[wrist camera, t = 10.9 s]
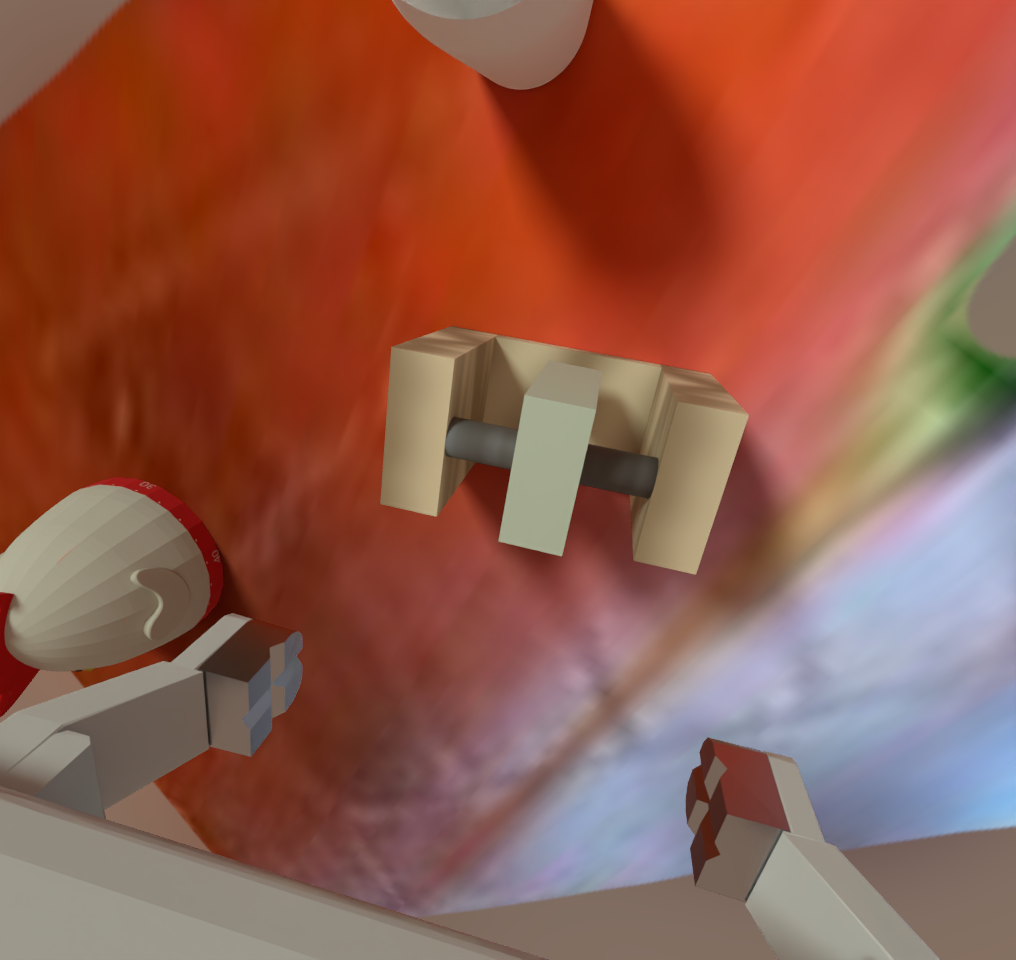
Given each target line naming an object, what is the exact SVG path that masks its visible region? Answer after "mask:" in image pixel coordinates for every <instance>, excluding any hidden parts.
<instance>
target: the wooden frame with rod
mask: <svg viewBox="0 0 1016 960" xmlns="http://www.w3.org/2000/svg"><path fill="white" fill-rule="evenodd" d="M549 360H550V361H555V362H560V363H565V364H570V365H575V366H580V367H585V368H590V369H595V370H600V371H601V378H600V386H599V393H598V400H597V408H596V413H595V417H594V421H593V426H592V430H591V434H590V439H589V443H588V447H587V451H586V456H585V460H584V464H583V469H582V473H581V477H580V481H579V484H580V485H585V486H590V487H594V488H599V489H604V490H608V491H613V492H618V493H623V494H627V495H629V497H630V512H631V528H632V544H633V560H634V561H637V562H641V563H646V564H650V565H655V566H659V567H664V568H668V569H672V570H677V571H681V572H686V573H690V574H695V575H696V573H697V570H698V567H699V564H700V561H701V558H702V555H703V552H704V549H705V546H706V543H707V540H708V537H709V534H710V531H711V528H712V525H713V522H714V519H715V516H716V513H717V510H718V507H719V504H720V501H721V498H722V495H723V492H724V489H725V486H726V483H727V480H728V477H729V474H730V471H731V468H732V465H733V462H734V459H735V456H736V453H737V450H738V447H739V444H740V441H741V438H742V435H743V432H744V429H745V426H746V423H747V420H748V417H749V415H748V414H747V412H746V411H745V410H744V409H743V408H742V407H741V406H740V405H739V404H738V403H737V402H736V401H735V399H734V398H733V397H732V396H731V395H730V394H729V393H728V392H727V391H726V390H725V389H724V387H723V386H722V385H721V384H720V383H719V382H718V381H717V380H716V379H715V378H714V377H713V376H712V374H708V373H703V372H697V371H692V370H687V369H681V368H676V367H670V366H665V365H659V364H654V363H648V362H643V361H638V360H632V359H627V358H621V357H616V356H610V355H605V354H599V353H594V352H589V351H583V350H578V349H572V348H567V347H561V346H556V345H551V344H545V343H540V342H534V341H529V340H523V339H518V338H512V337H507V336H502V335H496V334H491V333H485V332H480V331H474V330H469V329H464V328H458V327H453V326H451V327H448V328H445V329H442V330H439V331H437V332H434V333H431V334H428V335H425V336H422V337H419V338H416V339H413V340H411V341H408V342H405V343H402V344H399V345H396V346H393V347H392V348H391V362H390V377H389V391H388V405H387V419H386V433H385V447H384V461H383V475H382V490H381V504H383V505H387V506H392V507H396V508H401V509H405V510H410V511H414V512H418V513H423V514H427V515H432V516H436V517H437V515H438V514H439V513H440V511H441V510H442V508H443V507H444V506H445V504H446V503H447V501H448V500H449V499H450V497H451V496H452V495H453V493H454V492H455V490H456V489H457V488H458V486H459V485H460V483H461V482H462V481H463V479H464V478H465V477H466V475H467V474H468V472H469V471H470V470H471V468H472V467H473V465H474V464H475V463H481V464H485V465H490V466H495V467H500V468H504V469H509V470H511V468H512V462H513V457H514V451H515V446H516V440H517V434H518V429H519V423H520V418H521V412H522V406H523V401H524V395H525V394H526V392H527V391H528V389H529V388H530V387H531V385H532V384H533V382H534V381H535V379H536V378H537V377H538V375H539V374H540V372H541V371H542V369H543V368H544V367H545V365H546V364H547V362H548V361H549Z"/></svg>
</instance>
